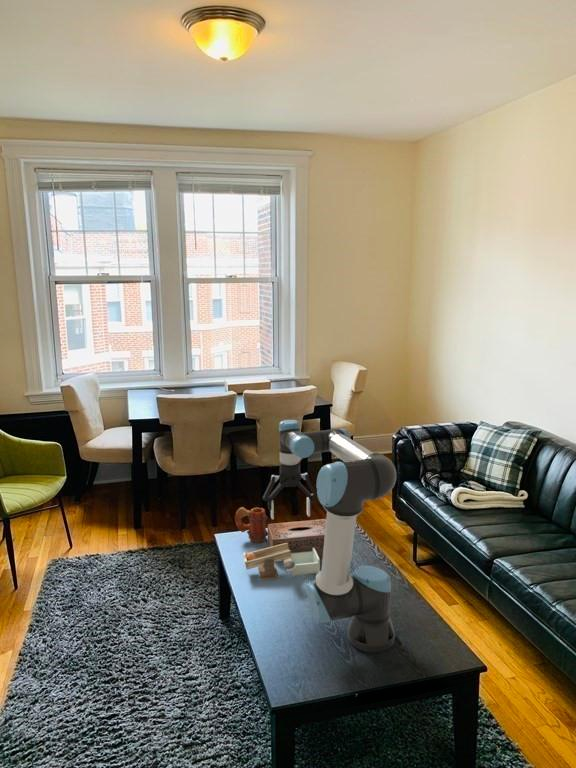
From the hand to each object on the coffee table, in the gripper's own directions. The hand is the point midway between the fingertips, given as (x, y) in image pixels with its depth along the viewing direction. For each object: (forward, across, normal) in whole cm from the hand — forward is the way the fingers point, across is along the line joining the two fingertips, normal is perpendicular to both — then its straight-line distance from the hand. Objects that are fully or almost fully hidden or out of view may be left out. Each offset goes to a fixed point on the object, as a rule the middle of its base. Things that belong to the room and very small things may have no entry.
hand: (290, 516), depth 209 cm
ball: (+19, +15, -8) cm, 26 cm away
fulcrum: (+26, +8, -8) cm, 29 cm away
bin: (+26, -6, -9) cm, 29 cm away
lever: (+21, +8, -4) cm, 23 cm away
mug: (+26, +12, -36) cm, 46 cm away
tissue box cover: (+27, -8, -24) cm, 37 cm away
